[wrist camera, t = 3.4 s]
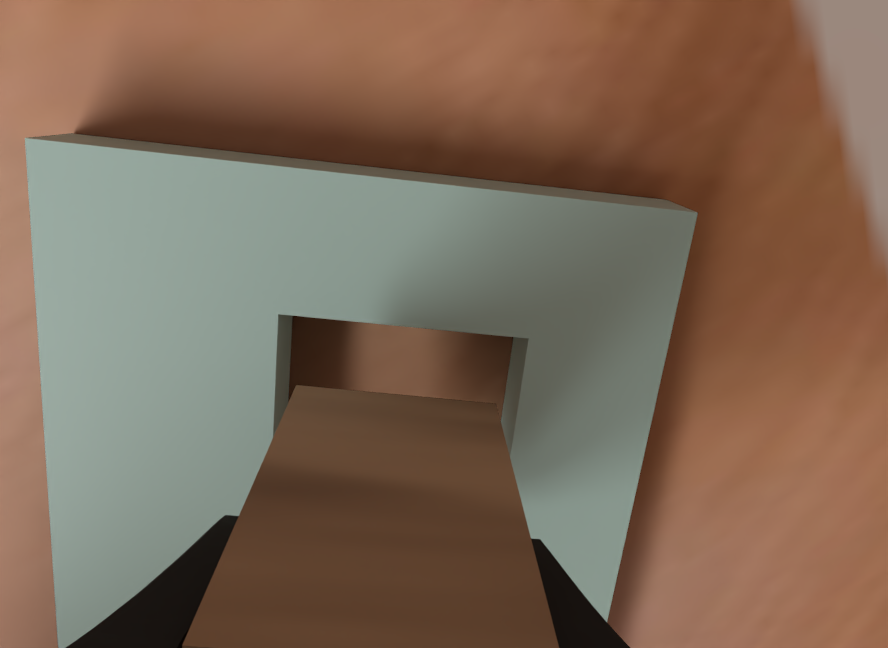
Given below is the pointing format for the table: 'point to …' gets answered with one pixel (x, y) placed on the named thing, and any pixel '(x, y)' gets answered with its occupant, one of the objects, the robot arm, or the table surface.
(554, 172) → the table surface
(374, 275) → the pocket board
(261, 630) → the walnut block
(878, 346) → the table surface
